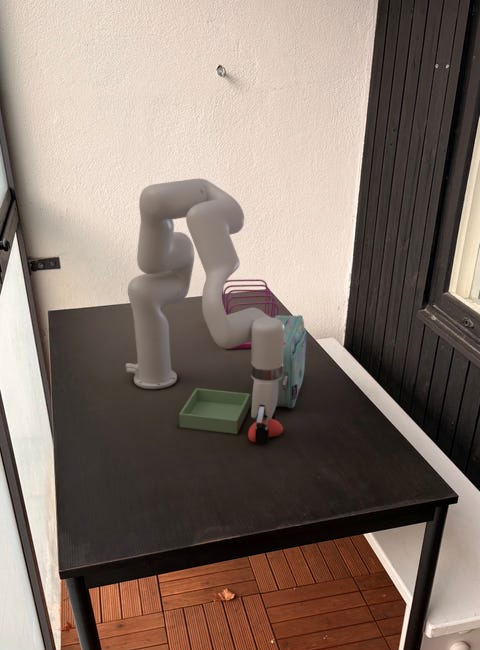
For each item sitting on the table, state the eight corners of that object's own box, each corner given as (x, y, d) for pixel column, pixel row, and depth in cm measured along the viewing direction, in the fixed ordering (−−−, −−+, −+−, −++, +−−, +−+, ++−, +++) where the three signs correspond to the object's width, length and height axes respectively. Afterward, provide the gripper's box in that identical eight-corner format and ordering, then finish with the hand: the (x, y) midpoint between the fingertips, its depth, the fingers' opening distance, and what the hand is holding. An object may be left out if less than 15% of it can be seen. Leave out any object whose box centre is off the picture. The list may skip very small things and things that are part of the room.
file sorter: (267, 319, 233) (268, 277, 225) (280, 346, 212) (281, 300, 204) (219, 322, 231) (218, 279, 223) (227, 349, 210) (227, 303, 202)
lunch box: (294, 418, 170) (298, 342, 160) (256, 414, 172) (257, 339, 162) (306, 375, 193) (309, 306, 182) (272, 372, 195) (273, 304, 184)
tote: (179, 427, 166) (179, 414, 165) (196, 400, 179) (196, 388, 177) (237, 434, 163) (237, 420, 161) (250, 406, 176) (250, 393, 174)
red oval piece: (246, 437, 165) (241, 424, 159) (276, 420, 165) (273, 407, 160) (255, 452, 162) (250, 439, 156) (286, 435, 163) (283, 422, 157)
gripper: (258, 354, 160) (257, 416, 169) (243, 384, 146) (242, 450, 155) (288, 357, 159) (286, 419, 168) (275, 388, 144) (273, 454, 153)
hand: (265, 434), depth 161 cm, fingers closed on red oval piece, 7 cm apart
